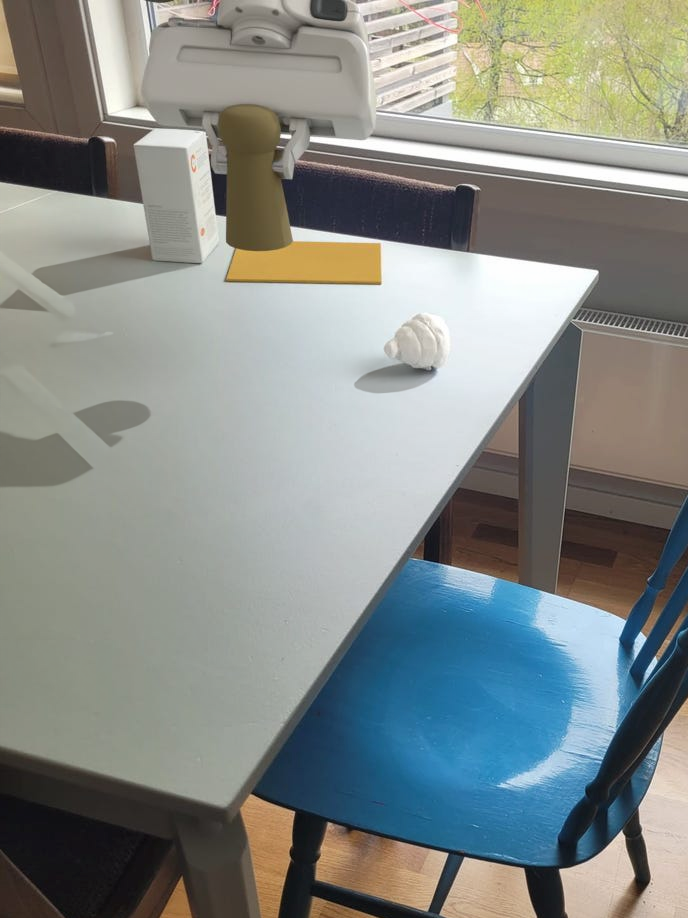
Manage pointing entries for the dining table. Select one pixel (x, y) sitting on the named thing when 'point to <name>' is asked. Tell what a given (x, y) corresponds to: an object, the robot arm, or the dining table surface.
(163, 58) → the robot arm
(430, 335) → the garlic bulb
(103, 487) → the dining table surface
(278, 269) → the linen cloth
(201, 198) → the small box
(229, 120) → the cork
